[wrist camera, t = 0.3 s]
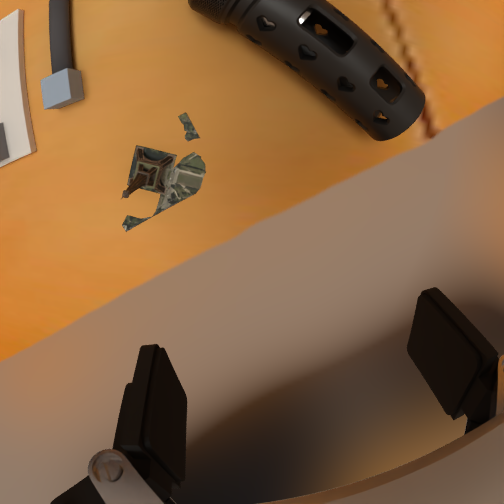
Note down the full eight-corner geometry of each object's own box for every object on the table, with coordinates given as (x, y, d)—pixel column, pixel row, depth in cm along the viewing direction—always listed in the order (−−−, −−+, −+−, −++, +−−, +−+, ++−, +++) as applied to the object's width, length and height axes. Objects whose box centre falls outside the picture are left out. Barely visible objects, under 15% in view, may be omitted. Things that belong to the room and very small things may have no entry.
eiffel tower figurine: (126, 232, 39) (94, 283, 28) (88, 170, 35) (38, 199, 23) (222, 179, 38) (225, 212, 26) (185, 109, 33) (167, 108, 22)
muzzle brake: (356, 138, 37) (397, 149, 27) (179, 13, 27) (167, -18, 18) (394, 89, 34) (440, 88, 25) (226, -36, 24) (230, -75, 15)
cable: (51, 1, 22) (37, -6, 19) (75, -10, 23) (63, -19, 19) (59, 108, 30) (44, 109, 27) (84, 98, 30) (70, 98, 27)
